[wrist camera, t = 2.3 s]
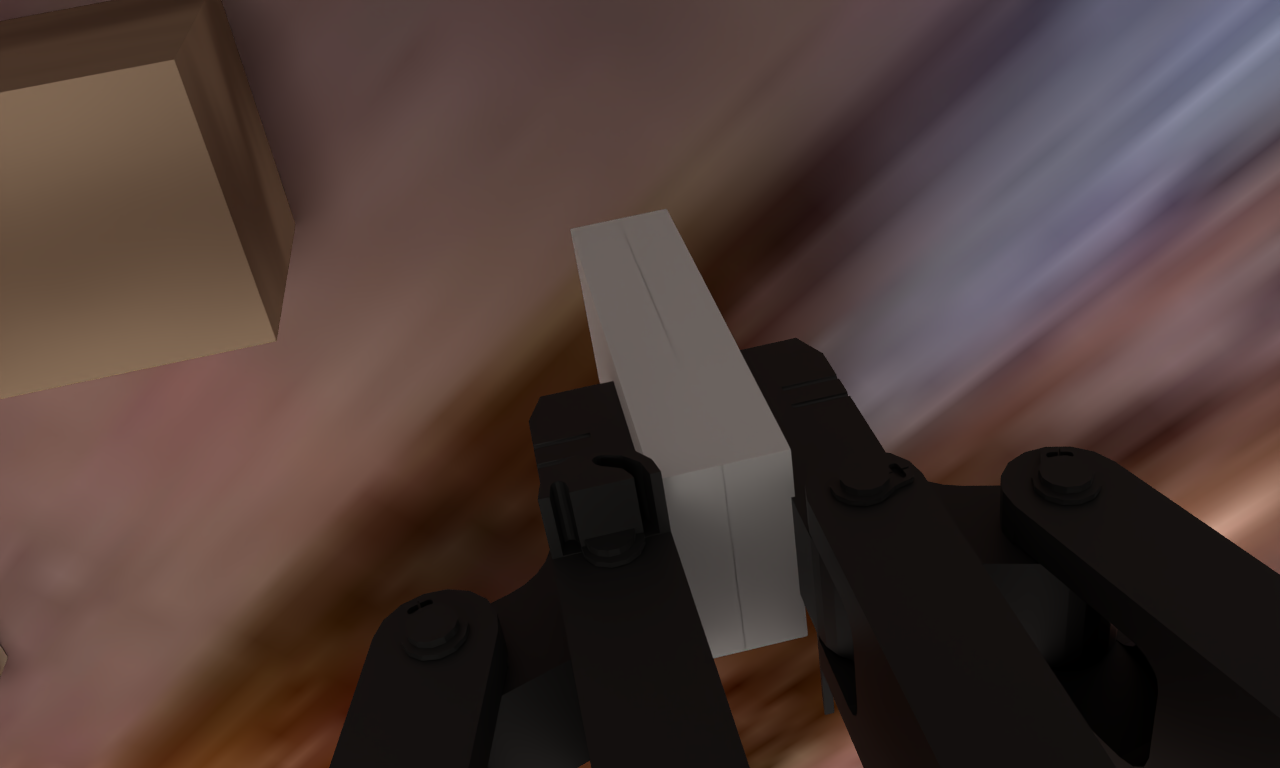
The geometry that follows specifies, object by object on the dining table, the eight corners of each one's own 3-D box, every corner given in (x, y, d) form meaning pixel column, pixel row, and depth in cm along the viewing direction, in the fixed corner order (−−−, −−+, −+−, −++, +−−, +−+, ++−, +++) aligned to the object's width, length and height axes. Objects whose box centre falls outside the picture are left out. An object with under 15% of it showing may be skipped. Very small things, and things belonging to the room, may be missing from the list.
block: (-60, 31, 26) (-168, 124, 21) (215, -20, 26) (173, 59, 21) (53, 272, 29) (-17, 402, 24) (295, 223, 29) (276, 341, 24)
